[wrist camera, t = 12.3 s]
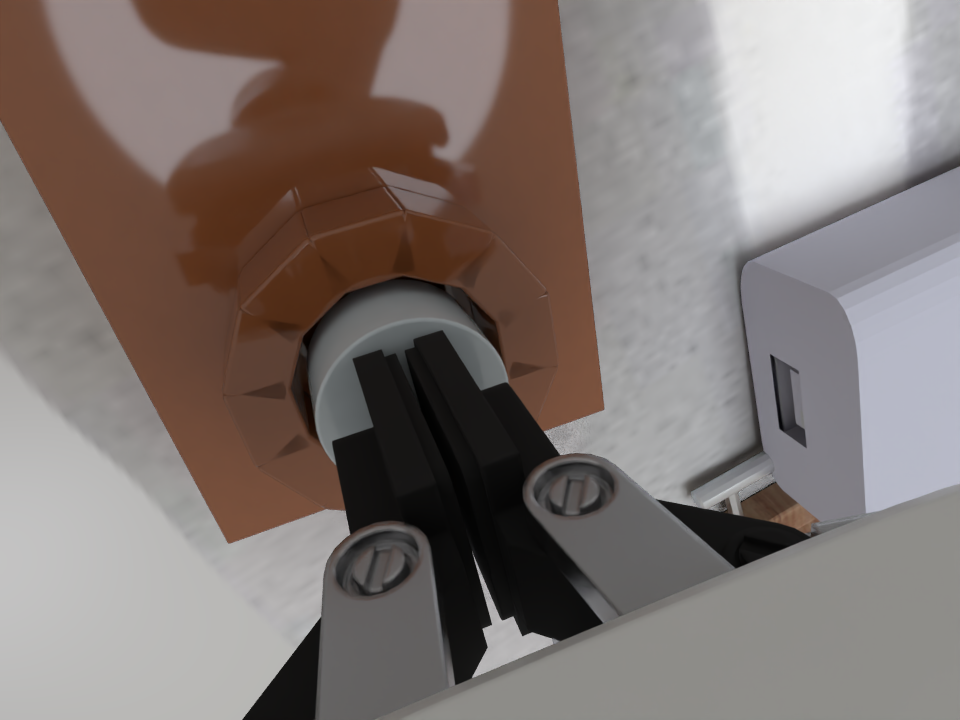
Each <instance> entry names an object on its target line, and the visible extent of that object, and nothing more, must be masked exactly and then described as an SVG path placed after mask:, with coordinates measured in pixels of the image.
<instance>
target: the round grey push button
mask: <svg viewBox="0 0 960 720" xmlns="http://www.w3.org/2000/svg"><path fill="white" fill-rule="evenodd" d="M440 330H443V332H444V333H445V335H446V336H447V338H448V339H449V341H450V343H451V344H452V346H453V347H454V349H455V350H456V352H457V354H458V355H459V357H460V358H461V360H462V362H463V363H464V365H465V366H466V368H467V370H468V371H469V373H470V374H471V376H472V378H473V379H474V381H475V382H476V384H477V385H478V387H479V389H480V390H484V389H486V388H489V387H492V386H495V385H498V384H501V383H504V382H506V383H508V384H509V382H508V376H507V372H506V369H505V366H504V364H503V361H502V359H501V357H500V356H499V354H498V352H497V351H496V349H495V348H494V347H493V345H492V344H491V343H490V341H489V340H488V339H487V337H486V336H485V335H484V333H483V332H482V331H481V329H480V328H479V327H478V325H477V324H476V323H475V321H474V320H473V319H472V317H471V316H470V315H469V313H468V312H467V311H466V309H465V308H464V307H463V306H462V305H461V304H460V303H459V301H457V300H456V299H455V298H454V297H453V296H451V295H450V294H449V293H447V292H445V291H444V290H442V289H440V288H438V287H436V286H433V285H431V284H428V283H424V282H421V281H415V280H405V279H395V280H388V281H384V282H381V283H378V284H374V285H371V286H368V287H364V288H361V289H358V290H356V291H354V292H352V293H350V294H348V295H347V296H345V297H344V298H342V299H341V300H340V301H339V302H337V303H336V304H335V305H334V306H333V307H332V308H331V309H330V310H329V311H328V312H327V313H326V314H325V316H324V317H323V318H322V319H321V321H320V322H319V324H318V326H317V327H316V329H315V331H314V333H313V335H312V337H311V340H310V344H309V347H308V351H307V358H306V372H307V379H308V385H309V391H310V397H311V403H312V408H313V414H314V420H315V426H316V431H317V434H318V437H319V441H320V443H321V445H322V447H323V449H324V451H325V452H326V454H327V455H328V457H329V458H330V460H331V461H332V462H333V463H334V464H335V465H336V461H335V456H334V451H333V446H332V441H333V440H336V439H339V438H342V437H345V436H348V435H351V434H354V433H357V432H360V431H363V430H366V429H369V428H372V427H373V423H372V420H371V417H370V414H369V411H368V407H367V404H366V401H365V398H364V395H363V391H362V388H361V385H360V382H359V379H358V376H357V372H356V369H355V366H354V363H353V360H352V359H353V358H356V357H359V356H362V355H365V354H368V353H371V352H375V351H378V350H381V349H382V352H383V354H384V356H388V355H391V354H394V353H396V355H397V357H398V360H399V362H400V364H401V366H402V369H403V371H404V373H405V375H406V378H407V380H408V382H409V384H410V386H411V389H412V391H413V393H414V395H415V398H416V400H417V402H418V404H419V401H418V397H417V394H416V390H415V387H414V384H413V380H412V377H411V373H410V370H409V366H408V363H407V359H406V356H405V350H407V349H410V348H413V347H415V346H414V342H413V339H415V338H418V337H422V336H425V335H428V334H431V333H434V332H437V331H440ZM419 407H420V404H419ZM420 409H421V408H420Z"/></svg>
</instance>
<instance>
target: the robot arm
mask: <svg viewBox="0 0 960 720" xmlns="http://www.w3.org/2000/svg"><path fill="white" fill-rule="evenodd" d="M413 342H414V346H415V347H413V348H410V349H407V350H405V356H406V359H407V363H408V366H409V370H410V373H411V377H412V380H413V384H414V387H415V390H416V394H417V397H418V401H419V404H420V407H419V404H418V402H417V400H416V398H415V395H414V393H413V391H412V389H411V386H410V384H409V382H408V380H407V378H406V375H405V373H404V371H403V369H402V366H401V364H400V362H399V360H398V357H397V355H396V353H394V354H391V355H388V356H384V354H383V352H382V349H381V350H378V351H375V352H371V353H368V354H365V355H362V356H359V357H356V358H353V359H352V360H353V363H354V366H355V369H356V372H357V376H358V379H359V382H360V385H361V388H362V391H363V395H364V398H365V401H366V404H367V407H368V411H369V414H370V417H371V420H372V423H373V427H372V428H369V429H366V430H363V431H360V432H357V433H354V434H351V435H348V436H345V437H342V438H339V439H336V440H333V441H332V446H333V451H334V456H335V461H336V466H337V471H338V476H339V481H340V486H341V491H342V495H343V500H344V505H345V510H346V515H347V520H348V525H349V530H350V535H349V536H348V537H346V538H345V539H344V540H343V541H342V542H341V543H340V544H339V545H338V546H337V547H336V548H335V549H334V551H333V552H332V554H331V556H330V557H329V559H328V560H327V563H326V567H325V571H324V578H323V595H322V612H321V618H320V619H319V620H318V622H317V623H316V624H315V626H314V627H313V628H312V629H311V631H310V632H309V633H308V635H307V636H306V637H305V639H304V640H303V641H302V643H301V644H300V645H299V646H298V648H297V649H296V650H295V652H294V653H293V654H292V656H291V657H290V658H289V660H288V661H287V662H286V664H285V665H284V666H283V667H282V669H281V670H280V671H279V673H278V674H277V675H276V677H275V678H274V679H273V680H272V682H271V683H270V684H269V686H268V687H267V688H266V689H265V691H264V692H263V693H262V695H261V696H260V697H259V699H258V700H257V701H256V703H255V704H254V705H253V706H252V708H251V709H250V711H249V712H248V713H247V714H246V716H245V717H244V718H243V720H960V484H957V485H953V486H949V487H946V488H943V489H940V490H937V491H934V492H932V493H929V494H926V495H923V496H920V497H918V498H915V499H912V500H909V501H906V502H903V503H900V504H897V505H894V506H891V507H889V508H886V509H884V510H881V511H876V512H870V513H865V514H860V515H854V516H849V517H843V518H838V519H833V520H827V521H822V522H816V523H811V532H809V533H803V532H801V531H799V530H797V529H796V528H793V527H790V526H786V525H783V524H780V523H776V522H771V521H765V520H760V519H755V518H750V517H745V516H740V515H734V514H729V513H724V512H719V511H714V510H708V509H703V508H698V507H693V506H688V505H682V504H677V503H672V502H667V501H662V500H657V499H654V498H653V497H652V496H651V495H650V494H649V493H648V492H646V491H645V490H644V489H643V488H642V487H641V486H639V485H638V484H637V483H636V482H635V481H634V480H632V479H631V478H630V477H629V476H628V475H627V474H625V473H624V472H623V471H622V470H621V469H620V468H618V467H617V466H616V465H615V464H613V463H611V462H610V461H608V460H607V459H605V458H602V457H599V456H595V455H592V454H580V453H574V454H566V455H560V454H559V453H558V451H557V450H556V449H555V447H554V446H553V444H552V443H551V442H550V440H549V439H548V437H547V436H546V435H545V433H544V432H543V430H542V429H541V428H540V426H539V425H538V423H537V422H536V421H535V419H534V418H533V417H532V415H531V414H530V412H529V411H528V410H527V408H526V407H525V405H524V404H523V403H522V401H521V400H520V398H519V397H518V396H517V394H516V393H515V391H514V390H513V389H512V387H511V386H510V385H509V384H508V383H506V382H504V383H501V384H498V385H495V386H492V387H489V388H486V389H484V390H480V389H479V387H478V385H477V384H476V382H475V381H474V379H473V378H472V376H471V374H470V373H469V371H468V370H467V368H466V366H465V365H464V363H463V362H462V360H461V358H460V357H459V355H458V354H457V352H456V350H455V349H454V347H453V346H452V344H451V343H450V341H449V339H448V338H447V336H446V335H445V333H444V332H443V330H440V331H437V332H434V333H431V334H428V335H425V336H422V337H418V338H415V339H413ZM420 408H421V409H420ZM472 552H473V554H472ZM473 555H474V557H475V559H476V562H477V564H478V566H479V569H480V571H481V573H482V576H483V578H484V580H485V583H486V585H487V588H488V590H489V592H490V595H491V597H492V599H493V602H494V604H495V606H496V609H497V611H498V613H499V616H500V618H501V620H505V619H507V618H510V617H512V616H514V618H515V621H516V623H517V625H518V627H519V630H520V632H521V634H522V636H524V635H527V634H529V633H531V632H533V633H536V634H540V635H543V636H546V637H549V638H552V640H553V645H551V646H548V647H546V648H543V649H541V650H539V651H536V652H534V653H532V654H529V655H527V656H524V657H522V658H520V659H517V660H515V661H512V662H510V663H508V664H505V665H503V666H501V667H498V668H496V669H493V670H491V671H489V672H486V673H484V674H481V675H479V676H477V677H474V678H472V676H473V674H474V672H475V671H476V669H477V667H478V665H479V663H480V661H481V659H482V657H483V655H484V653H485V651H486V649H487V648H488V647H487V643H486V640H485V637H484V633H483V630H482V629H483V628H485V627H488V626H490V625H492V623H491V619H490V615H489V612H488V608H487V604H486V601H485V597H484V593H483V590H482V586H481V583H480V579H479V575H478V572H477V568H476V565H475V561H474V557H473Z"/></svg>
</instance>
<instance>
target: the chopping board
mask: <svg viewBox="0 0 960 720" xmlns="http://www.w3.org/2000/svg"><path fill="white" fill-rule="evenodd" d="M774 470H775V467H774V463H773V462H772V460H771V458H770V457H769V456H768V454H767V453H765V452H764V451H762V452H761V453H759V454H757V455H755V456H753V457H752V458H750V459H748V460H746V461H745V462H743V463H741V464H739V465H737V466H736V467H734V468H732V469H730V470H729V471H727V472H725V473H723V474H722V475H720V476H718V477H716V478H714V479H713V480H711V481H709V482H707V483H706V484H704V485H702V486H700V487H699V488H697V489H695V490H693V491H691V497H692V499H693V501H694V503H695V504H696V506H697V507H698V508H703V509H709V508H710V507H712V506H714V505H716V504H718V503H719V502H721V501H723V500H725V502H726V506H727V509H728V510H727V511H725V512H724V513H729V514H734V515H740V516H745V517H750V518H755V519H760V520H765V521H771V522H776V523H780V524H783V525H786V526H790V527H793V528H796V529H797V530H799V531H801V532H803V533H809V532H811V523H816V522H820V521H819V520H818V519H817V518H816V517H814V516H813V515H812V514H811V513H810V512H808V511H807V510H806V509H805V508H804V507H802V506H801V505H800V504H799V503H798V502H796V501H795V500H794V499H793V498H792V497H790V496H789V495H788V494H787V493H786V492H784V491H783V490H782V489H781V488H780V486H779V485H778V484H777V482H776V483H774V484H772V485H771V486H769V487H767V488H765V489H764V490H762V491H760V492H758V493H757V494H755V495H753V496H751V497H750V498H748V499H746V500H744V501H743V502H741V503H740V499H739V495H738V492H739V491H740V490H742V489H744V488H746V487H747V486H749V485H751V484H753V483H755V482H756V481H758V480H760V479H762V478H763V477H765V476H767V475H769V474H770V473H772V472H774Z"/></svg>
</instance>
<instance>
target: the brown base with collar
mask: <svg viewBox="0 0 960 720" xmlns="http://www.w3.org/2000/svg"><path fill="white" fill-rule="evenodd" d="M0 121H1V123H2V125H3V126H4V128H5V130H6V132H7V134H8V136H9V138H10V139H11V141H12V143H13V145H14V147H15V149H16V151H17V152H18V154H19V156H20V158H21V160H22V162H23V164H24V165H25V167H26V169H27V171H28V173H29V175H30V177H31V178H32V180H33V182H34V184H35V186H36V188H37V190H38V191H39V193H40V195H41V197H42V199H43V201H44V203H45V204H46V206H47V208H48V210H49V212H50V214H51V216H52V217H53V219H54V221H55V223H56V225H57V227H58V229H59V230H60V232H61V234H62V236H63V238H64V240H65V242H66V243H67V245H68V247H69V249H70V251H71V253H72V255H73V256H74V258H75V260H76V262H77V264H78V266H79V268H80V269H81V271H82V273H83V275H84V277H85V279H86V281H87V282H88V284H89V286H90V288H91V290H92V292H93V294H94V295H95V297H96V299H97V301H98V303H99V305H100V307H101V308H102V310H103V312H104V314H105V316H106V318H107V320H108V321H109V323H110V325H111V327H112V329H113V331H114V333H115V334H116V336H117V338H118V340H119V342H120V344H121V346H122V347H123V349H124V351H125V353H126V355H127V357H128V359H129V360H130V362H131V364H132V366H133V368H134V370H135V372H136V373H137V375H138V377H139V379H140V381H141V383H142V385H143V386H144V388H145V390H146V392H147V394H148V396H149V398H150V399H151V401H152V403H153V405H154V407H155V409H156V411H157V412H158V414H159V416H160V418H161V420H162V422H163V424H164V425H165V427H166V429H167V431H168V433H169V435H170V437H171V438H172V440H173V442H174V444H175V446H176V448H177V450H178V451H179V453H180V455H181V457H182V459H183V461H184V463H185V464H186V466H187V468H188V470H189V472H190V474H191V476H192V477H193V479H194V481H195V483H196V485H197V487H198V489H199V490H200V492H201V494H202V496H203V498H204V500H205V502H206V503H207V505H208V507H209V509H210V511H211V513H212V515H213V516H214V518H215V520H216V522H217V524H218V526H219V528H220V529H221V531H222V533H223V535H224V537H225V539H226V541H227V542H228V543H233V542H236V541H239V540H241V539H244V538H247V537H250V536H252V535H255V534H258V533H261V532H264V531H266V530H269V529H272V528H275V527H278V526H280V525H283V524H286V523H289V522H292V521H294V520H297V519H300V518H303V517H306V516H308V515H311V514H314V513H317V512H320V511H322V510H325V509H329V510H345V505H344V500H343V495H342V491H341V486H340V481H339V476H338V471H337V466H336V465H335V464H334V463H333V462H332V461H331V460H330V458H329V457H328V455H327V454H326V452H325V451H324V449H323V447H322V445H321V443H320V441H319V437H318V434H317V431H316V426H315V420H314V414H313V408H312V403H311V397H310V391H309V385H308V379H307V372H306V358H307V351H308V347H309V344H310V340H311V337H312V335H313V333H314V331H315V329H316V327H317V326H318V324H319V322H320V321H321V319H322V318H323V317H324V316H325V314H326V313H327V312H328V311H329V310H330V309H331V308H332V307H333V306H334V305H335V304H336V303H337V302H339V301H340V300H341V299H342V298H344V297H345V296H347V295H348V294H350V293H352V292H354V291H356V290H358V289H361V288H364V287H368V286H371V285H374V284H378V283H381V282H384V281H388V280H395V279H405V280H415V281H421V282H424V283H428V284H431V285H433V286H436V287H438V288H440V289H442V290H444V291H445V292H447V293H449V294H450V295H451V296H453V297H454V298H455V299H456V300H457V301H459V303H460V304H461V305H462V306H463V307H464V308H465V309H466V311H467V312H468V313H469V315H470V316H471V317H472V319H473V320H474V321H475V323H476V324H477V325H478V327H479V328H480V329H481V331H482V332H483V333H484V335H485V336H486V337H487V339H488V340H489V341H490V343H491V344H492V345H493V347H494V348H495V349H496V351H497V352H498V354H499V356H500V357H501V359H502V361H503V364H504V366H505V369H506V372H507V376H508V382H509V385H510V386H511V387H512V389H513V390H514V391H515V393H516V394H517V396H518V397H519V398H520V400H521V401H522V403H523V404H524V405H525V407H526V408H527V410H528V411H529V412H530V414H531V415H532V417H533V418H534V419H535V421H536V422H537V423H538V425H539V426H540V428H541V429H542V430H543V431H546V430H549V429H552V428H555V427H557V426H560V425H563V424H566V423H569V422H571V421H574V420H577V419H580V418H583V417H585V416H588V415H591V414H594V413H597V412H599V411H602V410H604V401H603V392H602V383H601V374H600V366H599V357H598V348H597V339H596V331H595V322H594V313H593V304H592V296H591V287H590V278H589V269H588V261H587V252H586V243H585V234H584V226H583V217H582V208H581V199H580V191H579V182H578V173H577V164H576V156H575V147H574V138H573V129H572V121H571V112H570V103H569V94H568V86H567V77H566V68H565V59H564V51H563V42H562V33H561V24H560V16H559V7H558V0H0ZM345 511H346V510H345Z"/></svg>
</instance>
